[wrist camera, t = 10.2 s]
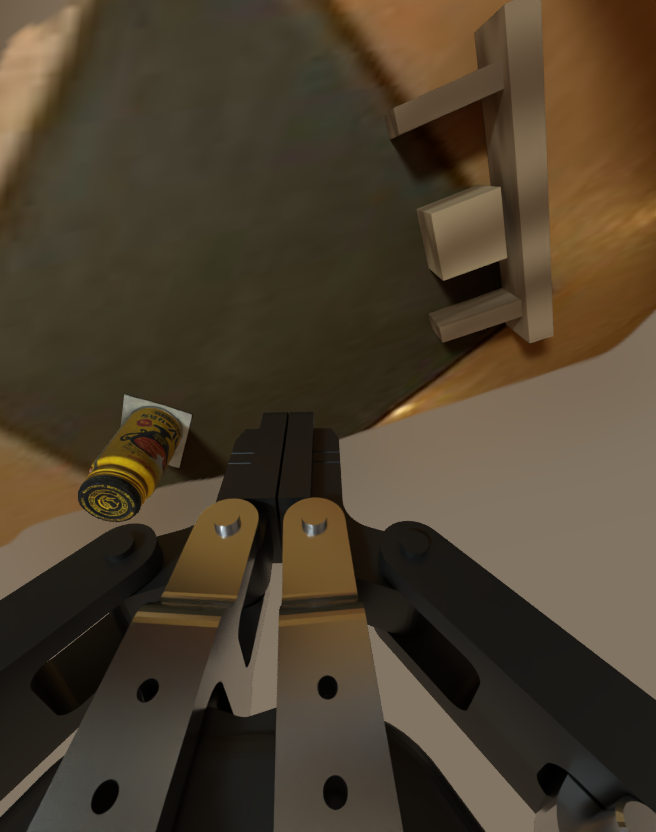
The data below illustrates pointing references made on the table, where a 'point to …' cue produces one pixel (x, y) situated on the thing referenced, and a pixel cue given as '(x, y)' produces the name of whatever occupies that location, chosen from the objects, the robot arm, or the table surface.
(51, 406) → the table surface
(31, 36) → the table surface
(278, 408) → the table surface
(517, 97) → the wooden plank
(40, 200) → the table surface
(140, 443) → the condiment
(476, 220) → the block
